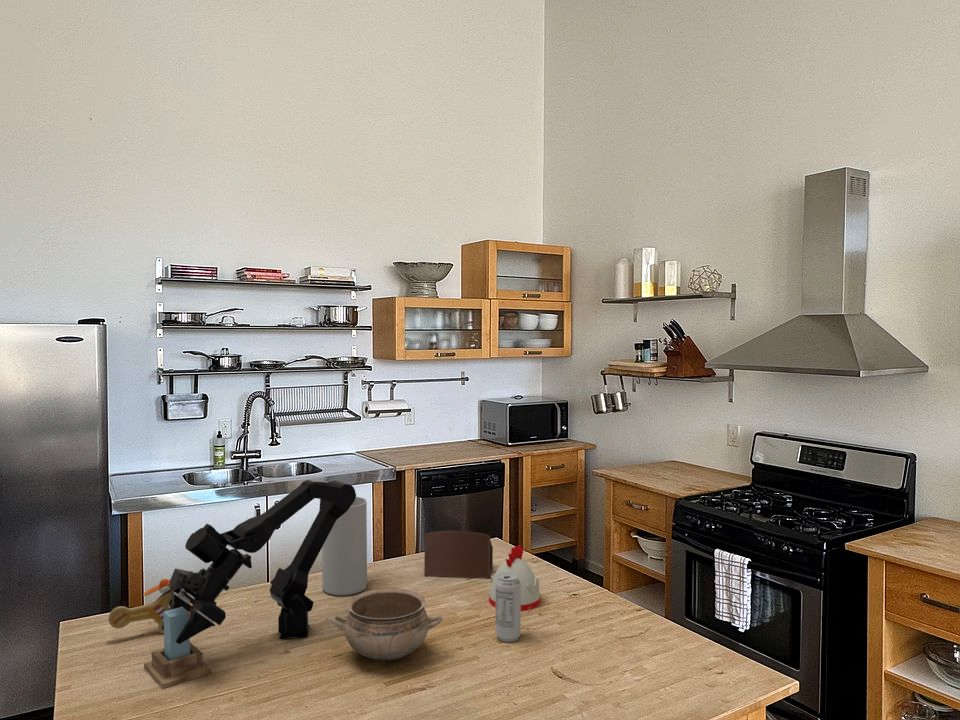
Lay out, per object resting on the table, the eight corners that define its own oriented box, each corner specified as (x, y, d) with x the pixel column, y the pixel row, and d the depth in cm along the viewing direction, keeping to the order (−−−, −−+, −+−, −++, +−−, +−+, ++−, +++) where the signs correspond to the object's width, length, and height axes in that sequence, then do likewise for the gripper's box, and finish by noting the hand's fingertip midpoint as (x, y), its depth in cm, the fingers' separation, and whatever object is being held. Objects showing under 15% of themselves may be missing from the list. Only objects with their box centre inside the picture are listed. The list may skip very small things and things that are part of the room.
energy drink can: (525, 637, 172) (526, 576, 171) (509, 645, 168) (509, 582, 167) (506, 629, 176) (507, 570, 175) (490, 637, 172) (490, 576, 171)
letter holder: (490, 579, 211) (490, 532, 210) (423, 577, 213) (423, 530, 212) (492, 568, 221) (493, 523, 220) (429, 565, 223) (429, 521, 222)
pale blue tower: (183, 659, 158) (182, 606, 158) (190, 666, 155) (189, 612, 155) (164, 665, 156) (163, 611, 155) (171, 672, 153) (170, 617, 152)
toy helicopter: (205, 630, 176) (204, 575, 175) (111, 650, 165) (109, 592, 164) (198, 618, 183) (197, 565, 182) (107, 637, 172) (106, 581, 171)
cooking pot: (444, 637, 172) (443, 587, 172) (439, 676, 153) (439, 620, 153) (340, 637, 172) (339, 587, 172) (323, 675, 153) (322, 620, 153)
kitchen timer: (548, 598, 197) (549, 544, 196) (524, 615, 185) (524, 558, 184) (505, 588, 204) (505, 536, 203) (479, 604, 193) (479, 549, 192)
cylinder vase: (362, 596, 197) (362, 507, 196) (317, 596, 197) (316, 507, 196) (370, 580, 210) (369, 496, 208) (328, 580, 210) (327, 496, 209)
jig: (190, 653, 163) (189, 636, 163) (211, 672, 154) (210, 654, 154) (144, 668, 156) (143, 650, 156) (163, 688, 148) (162, 670, 147)
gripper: (178, 544, 164) (127, 604, 157) (210, 565, 150) (156, 632, 143) (212, 570, 169) (165, 629, 163) (246, 592, 156) (196, 657, 149)
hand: (170, 636), depth 154 cm, fingers open, 8 cm apart
